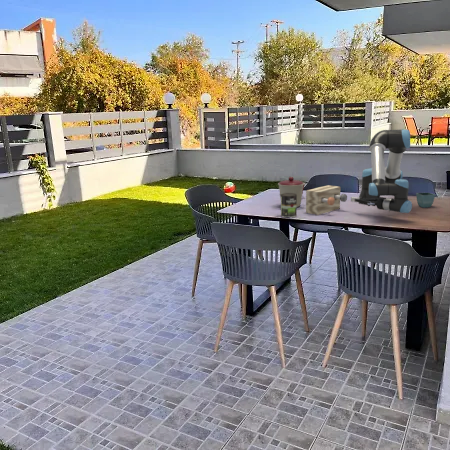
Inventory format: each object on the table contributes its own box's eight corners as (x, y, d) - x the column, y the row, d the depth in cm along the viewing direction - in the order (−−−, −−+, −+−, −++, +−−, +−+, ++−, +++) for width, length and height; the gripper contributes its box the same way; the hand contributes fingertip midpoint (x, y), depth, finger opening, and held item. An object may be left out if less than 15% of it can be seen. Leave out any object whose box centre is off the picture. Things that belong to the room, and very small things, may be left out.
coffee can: (299, 216, 290) (299, 195, 286) (284, 218, 287) (284, 196, 284) (292, 213, 299) (292, 192, 296) (278, 215, 297) (278, 193, 293)
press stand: (305, 212, 300) (306, 190, 296) (327, 206, 315) (328, 185, 312) (318, 215, 293) (318, 192, 289) (339, 208, 308) (340, 186, 304)
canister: (273, 207, 320) (272, 177, 314) (287, 202, 332) (287, 174, 327) (294, 210, 308) (294, 179, 302) (309, 205, 320) (309, 176, 315)
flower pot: (414, 205, 308) (415, 192, 306) (427, 205, 309) (428, 192, 307) (421, 208, 300) (422, 195, 298) (434, 207, 300) (435, 194, 298)
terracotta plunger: (314, 203, 296) (314, 195, 295) (319, 202, 299) (319, 194, 298) (329, 205, 288) (330, 198, 286) (334, 204, 291) (334, 196, 290)
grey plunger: (327, 200, 305) (327, 192, 304) (331, 198, 308) (331, 191, 307) (342, 202, 297) (342, 194, 295) (347, 201, 300) (347, 193, 298)
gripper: (379, 211, 273) (345, 206, 290) (390, 208, 282) (356, 203, 299) (380, 199, 272) (346, 194, 289) (391, 196, 280) (357, 191, 297)
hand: (351, 199), depth 294 cm, fingers closed
